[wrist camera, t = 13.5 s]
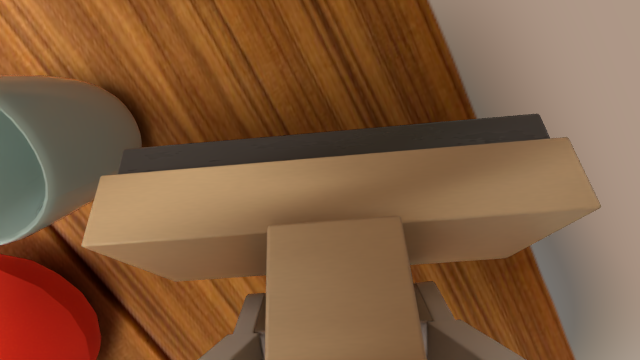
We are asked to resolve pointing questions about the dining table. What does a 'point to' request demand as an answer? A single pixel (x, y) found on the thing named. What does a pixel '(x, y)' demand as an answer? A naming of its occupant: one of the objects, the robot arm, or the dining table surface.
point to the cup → (56, 148)
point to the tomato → (43, 315)
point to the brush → (340, 220)
